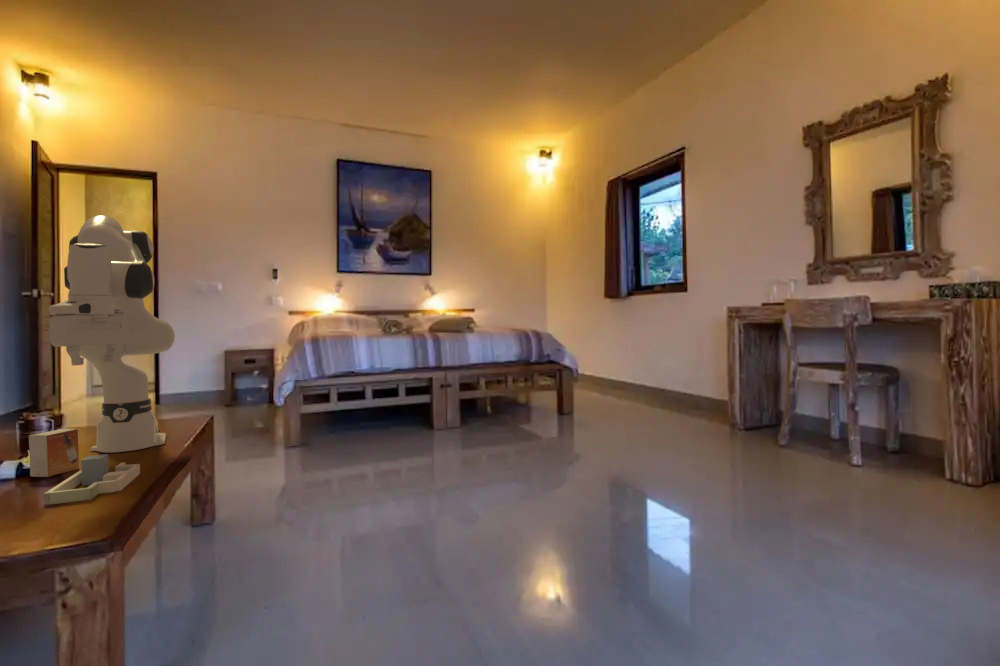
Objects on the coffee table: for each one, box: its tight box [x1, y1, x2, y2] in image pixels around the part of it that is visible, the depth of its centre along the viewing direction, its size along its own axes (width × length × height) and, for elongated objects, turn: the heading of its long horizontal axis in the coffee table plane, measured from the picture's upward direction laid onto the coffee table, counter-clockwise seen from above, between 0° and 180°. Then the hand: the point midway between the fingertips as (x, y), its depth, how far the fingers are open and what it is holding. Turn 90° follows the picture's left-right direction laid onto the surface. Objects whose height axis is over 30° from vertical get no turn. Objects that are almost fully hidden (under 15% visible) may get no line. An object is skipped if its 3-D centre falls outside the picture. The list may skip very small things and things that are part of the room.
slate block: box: [80, 453, 110, 487], centre depth 122 cm, size 4×4×6 cm
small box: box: [28, 428, 80, 478], centre depth 130 cm, size 8×6×10 cm
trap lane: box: [43, 461, 141, 506], centre depth 119 cm, size 22×12×2 cm, turn 20°
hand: (93, 363), depth 127 cm, fingers open, 8 cm apart
